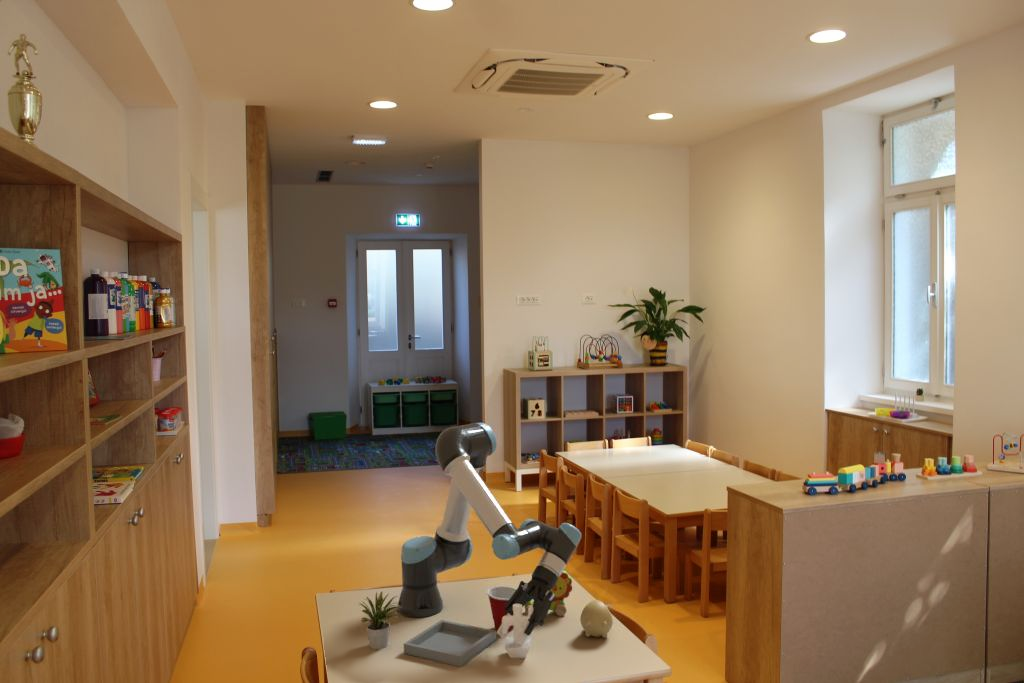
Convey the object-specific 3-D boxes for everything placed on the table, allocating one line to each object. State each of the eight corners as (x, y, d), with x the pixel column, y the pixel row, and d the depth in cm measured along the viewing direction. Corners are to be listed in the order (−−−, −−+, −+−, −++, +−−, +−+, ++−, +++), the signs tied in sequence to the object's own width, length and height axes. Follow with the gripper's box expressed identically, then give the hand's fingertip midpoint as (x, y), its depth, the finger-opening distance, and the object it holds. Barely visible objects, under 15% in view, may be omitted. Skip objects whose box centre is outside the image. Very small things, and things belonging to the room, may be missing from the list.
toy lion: (525, 617, 264) (524, 571, 264) (524, 611, 270) (523, 566, 269) (573, 615, 265) (572, 570, 264) (571, 609, 270) (570, 564, 270)
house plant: (373, 662, 234) (371, 606, 233) (343, 649, 243) (341, 596, 242) (410, 645, 245) (408, 592, 244) (380, 634, 254) (378, 582, 253)
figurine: (504, 649, 240) (502, 599, 240) (535, 649, 239) (534, 600, 239) (501, 660, 233) (499, 609, 232) (533, 660, 232) (532, 609, 231)
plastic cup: (518, 636, 249) (517, 598, 249) (484, 634, 252) (483, 596, 251) (525, 622, 260) (524, 586, 259) (492, 621, 262) (491, 584, 262)
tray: (403, 653, 239) (403, 643, 239) (441, 629, 257) (441, 619, 257) (461, 666, 230) (460, 656, 229) (496, 640, 247) (496, 630, 247)
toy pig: (612, 646, 249) (614, 614, 256) (611, 628, 241) (613, 595, 248) (580, 644, 251) (583, 611, 258) (578, 626, 242) (581, 593, 250)
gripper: (578, 586, 238) (540, 656, 228) (532, 570, 253) (493, 635, 243) (565, 572, 234) (525, 643, 224) (519, 557, 250) (479, 623, 240)
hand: (509, 639), depth 234 cm, fingers closed on figurine, 7 cm apart
